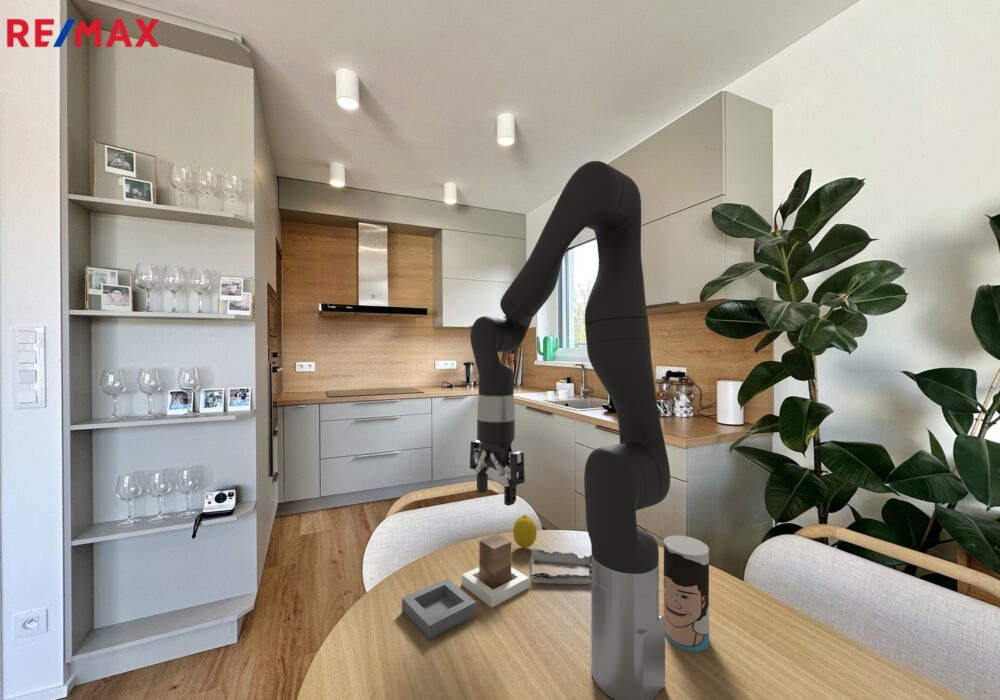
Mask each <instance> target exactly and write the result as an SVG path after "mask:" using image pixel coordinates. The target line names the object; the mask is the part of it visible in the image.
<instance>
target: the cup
mask: <svg viewBox="0 0 1000 700" xmlns="http://www.w3.org/2000/svg"><path fill="white" fill-rule="evenodd" d="M663 617H664V618H665V639H666V640H668V642H670V643H671V644H672V645H673V646H675V647H678V649H682V650H684V651H687V652H692V653H693V652H694V653H695V652H696V653H698V652H703V651H705V650H707V649H708V648H709V646H710V548H709V546H708V545H707V544H706V543H705V542H703V541H701V540H699V539H697V538H694V537H690V536H687V535H679V534H678V535H669V536H666V537H665V538H664V540H663Z"/></svg>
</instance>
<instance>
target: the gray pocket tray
mask: <svg viewBox="0 0 1000 700" xmlns="http://www.w3.org/2000/svg"><path fill="white" fill-rule="evenodd" d="M401 613H402V614H404V616H405V617H406V618H407V619H408V620H409V621H410V622H411V623H412V624H413V626H414V627H415V628H416V629H417V630H418V631H419V632H420V633H421V634H422V636H423V637H424V638H426V640H427V641H428V642H431V641H433V640H435V639H436V638H438V637H440V636H443V635H444V634H446V633H447V632H449V631H451V630H453V629H455V628H457V627H459V626H461V625H462V624H463V625H464V624H465V623H466V622H468V621H470V620H472V619H473V618H475V617H477V601H476V600H475V599H473V597H471V596H470V595H468V593H466V592H465V591H464V590H462V589H460V587H458V585H456V584H455V583H454V582H452V581H451V580H450V579H448V578H444V579H443V580H441V581H439V582H436V583H433V584H431V585H429V586H427V587H424V588H422V589H419V590H418V591H415V592H413V593H411V594H408V595H405V596H404V597H402V598H401Z"/></svg>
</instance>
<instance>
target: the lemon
mask: <svg viewBox="0 0 1000 700" xmlns="http://www.w3.org/2000/svg"><path fill="white" fill-rule="evenodd" d="M512 528H513V530H512V531H513V534H512V535H513V539H514V541H515V543H516V545H518V546H519V547H521V548H523V550H527V548H530V547H531V546H533V545H534V543H535V541H536V539H537V535H538V534H537V525H536V522H535V520H533V518H532V517H530V516H528V515H526V514H523V515H521V516H519V517H518V518H517V519H516V520H515V522H514V525H513V527H512Z"/></svg>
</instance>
